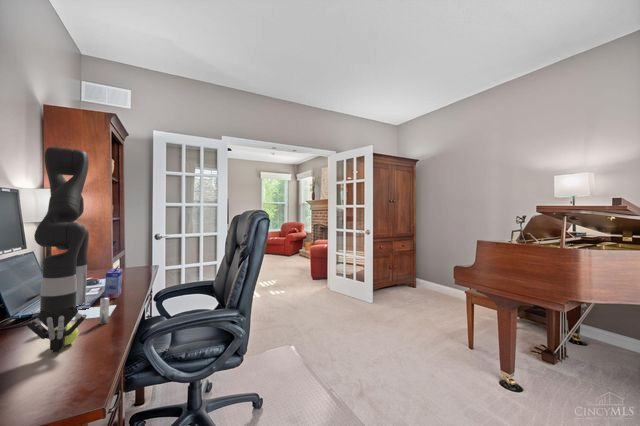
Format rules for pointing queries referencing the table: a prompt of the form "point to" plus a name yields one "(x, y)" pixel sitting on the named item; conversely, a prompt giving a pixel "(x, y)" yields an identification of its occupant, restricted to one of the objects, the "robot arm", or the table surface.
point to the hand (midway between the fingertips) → (57, 350)
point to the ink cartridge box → (113, 283)
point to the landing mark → (94, 312)
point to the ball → (71, 335)
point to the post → (104, 310)
